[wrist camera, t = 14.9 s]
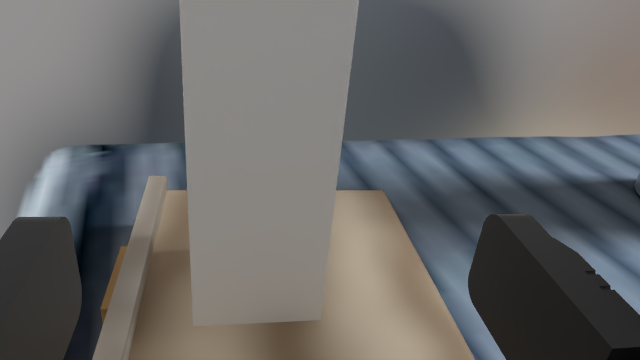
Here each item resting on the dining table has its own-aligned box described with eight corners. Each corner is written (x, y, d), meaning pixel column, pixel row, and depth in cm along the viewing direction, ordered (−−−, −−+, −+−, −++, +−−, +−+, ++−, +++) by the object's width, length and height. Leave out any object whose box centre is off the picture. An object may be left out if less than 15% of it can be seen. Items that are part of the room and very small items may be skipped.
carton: (303, 246, 27) (329, -33, 20) (320, 319, 22) (361, -16, 15) (198, 249, 26) (189, -45, 19) (191, 326, 21) (176, -30, 14)
